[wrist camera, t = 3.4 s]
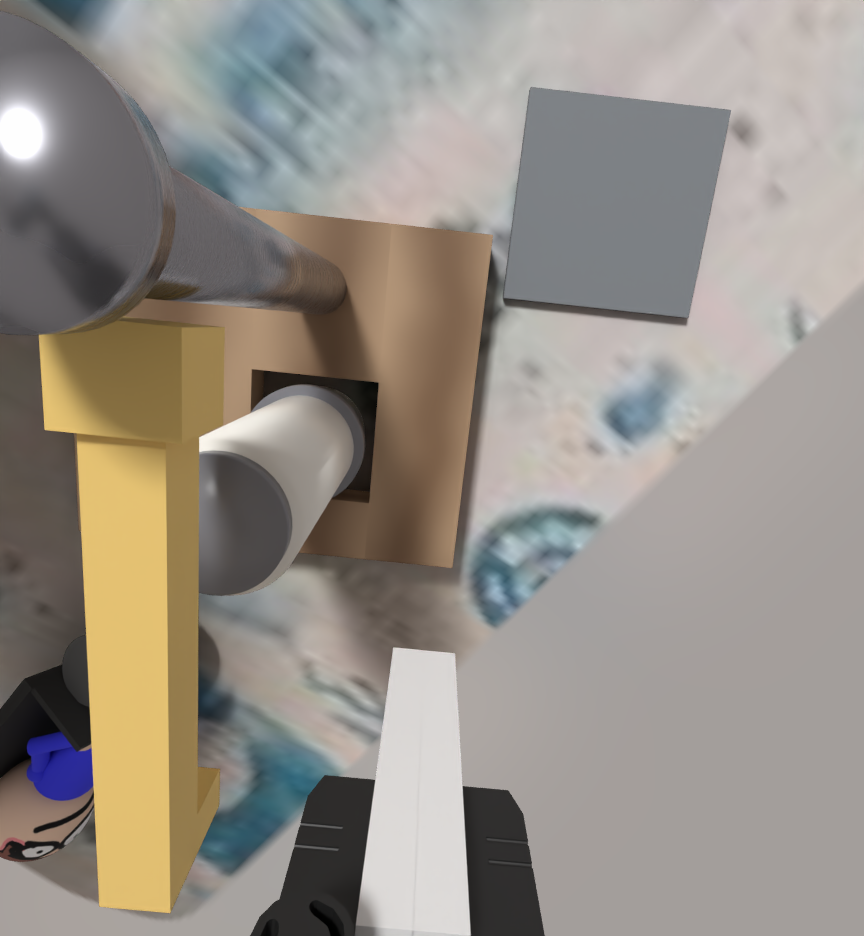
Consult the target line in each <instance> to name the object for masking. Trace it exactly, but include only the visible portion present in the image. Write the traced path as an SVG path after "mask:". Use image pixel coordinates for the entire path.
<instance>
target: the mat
mask: <svg viewBox="0 0 864 936" xmlns="http://www.w3.org/2000/svg"><path fill="white" fill-rule="evenodd" d="M730 113H731V110H726V109H718V108H709V107H700V106H691V105H683V104H674V103H665V102H657V101H648V100H639V99H630V98H622V97H613V96H604V95H596V94H587V93H578V92H570V91H561V90H552V89H543V88H535V87H531V88H530V90H529V98H528V106H527V113H526V121H525V129H524V137H523V144H522V152H521V160H520V168H519V175H518V183H517V191H516V199H515V206H514V214H513V222H512V230H511V237H510V245H509V253H508V261H507V268H506V276H505V284H504V292H503V298H507V299H516V300H525V301H534V302H544V303H553V304H562V305H571V306H580V307H590V308H599V309H608V310H617V311H627V312H636V313H645V314H654V315H663V316H673V317H682V318H688V316H689V311H690V306H691V302H692V297H693V292H694V287H695V282H696V277H697V272H698V268H699V263H700V258H701V253H702V248H703V243H704V239H705V234H706V229H707V224H708V219H709V214H710V210H711V205H712V200H713V195H714V190H715V185H716V180H717V176H718V171H719V166H720V161H721V156H722V151H723V147H724V142H725V137H726V132H727V127H728V122H729V117H730Z"/></svg>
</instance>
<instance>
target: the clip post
mask: <svg viewBox="0 0 864 936" xmlns="http://www.w3.org/2000/svg"><path fill="white" fill-rule="evenodd" d="M346 291H347V286H346V280H345V277H344V275H343V273H342V272H341V270H340V269H339V268H338V267H337V266H336V265H335V264H333V263H331V262H330V261H328V260H326V259H325V258H323V257H321V256H320V255H318V254H316V253H315V252H313V251H311V250H310V249H308V248H306V247H305V246H303V245H301V244H300V243H298V242H296V241H295V240H293V239H291V238H290V237H288V236H286V235H285V234H283V233H281V232H280V231H278V230H276V229H275V228H273V227H271V226H270V225H268V224H266V223H264V222H263V221H261V220H259V219H258V218H256V217H254V216H253V215H251V214H249V213H248V212H246V211H244V210H243V209H241V208H239V207H238V206H236V205H234V204H233V203H231V202H229V201H228V200H226V199H224V198H223V197H221V196H219V195H218V194H216V193H214V192H213V191H211V190H209V189H208V188H206V187H204V186H202V185H201V184H199V183H197V182H196V181H194V180H192V179H191V178H189V177H187V176H186V175H184V174H182V173H181V172H179V171H177V170H176V169H174V168H172V167H171V166H169V164H168V161H167V158H166V154H165V152H164V149H163V147H162V145H161V143H160V140H159V138H158V136H157V134H156V132H155V130H154V129H153V127H152V125H151V123H150V122H149V120H148V118H147V117H146V115H145V114H144V113H143V111H142V110H141V108H140V107H139V106H138V104H137V103H136V102H135V100H134V99H133V98H132V97H131V96H130V95H129V94H128V93H127V92H126V91H125V90H124V89H123V87H122V86H121V85H120V84H118V83H117V82H116V81H115V80H114V79H112V78H111V77H110V76H109V75H108V74H107V73H105V72H104V71H103V70H102V69H100V68H99V67H98V66H96V65H95V64H94V63H92V62H91V61H90V60H88V59H87V58H86V57H85V56H83V55H82V54H81V53H79V52H78V51H77V50H75V49H74V48H73V47H71V46H70V45H69V44H67V43H66V42H65V41H63V40H62V39H60V38H59V37H57V36H56V35H54V34H53V33H51V32H50V31H48V30H47V29H45V28H43V27H41V26H39V25H37V24H35V23H33V22H31V21H29V20H27V19H24V18H21V17H18V16H16V15H13V14H10V13H7V12H3V11H0V333H3V334H13V335H49V334H72V333H82V332H86V331H90V330H94V329H98V328H101V327H103V326H106V325H108V324H111V323H113V322H115V321H116V320H118V319H120V318H121V317H123V316H125V315H126V314H128V313H129V312H130V311H131V310H133V309H134V308H135V307H136V306H137V305H139V304H140V302H141V301H142V300H143V299H144V298H146V299H156V300H167V301H178V302H189V303H200V304H210V305H221V306H232V307H243V308H254V309H264V310H275V311H286V312H297V313H308V314H319V315H324V314H329V313H331V312H333V311H335V310H336V309H338V308H339V307H340V306H341V304H342V303H343V301H344V299H345V296H346Z"/></svg>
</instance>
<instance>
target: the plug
mask: <svg viewBox="0 0 864 936" xmlns="http://www.w3.org/2000/svg"><path fill="white" fill-rule="evenodd" d="M364 453H365V428H364V422H363V418H362V416H361V413H360V411H359V409H358V408H357V406H356V405H355V404H354V402H353V401H352V400H351V399H350V398H349V397H347V396H346V395H345V394H343V393H342V392H340V391H338V390H336V389H333V388H330V387H325V386H318V385H312V384H297V385H292V386H287V387H285V388H282V389H280V390H277V391H275V392H273V393H271V394H269V395H268V396H266V397H265V398H263V399H262V400H261V401H260V402H259V403H258V404H257V405H256V406H255V408H254V409H253V410H252V411H251V413H250V414H248V415H246V416H244V417H241V418H239V419H237V420H235V421H233V422H231V423H229V424H227V425H224V426H222V427H220V428H218V429H216V430H214V431H212V432H210V433H208V434H205V435H203V436H201V437H199V593H202V594H207V595H218V596H223V595H227V596H232V595H242V594H247V593H251V592H254V591H257V590H260V589H262V588H264V587H266V586H268V585H270V584H271V583H273V582H274V581H275V580H277V579H278V578H279V577H280V576H281V575H282V574H284V573H285V571H286V570H287V569H288V568H289V567H290V565H291V564H292V562H293V560H294V559H295V557H296V555H297V554H298V552H299V551H300V549H301V547H302V546H303V544H304V542H305V541H306V539H307V537H308V536H309V534H310V533H311V531H312V529H313V528H314V526H315V524H316V523H317V521H318V519H319V518H320V516H321V515H322V513H323V511H324V510H325V508H326V506H327V505H328V503H329V501H330V500H331V498H333V497H335V496H336V495H338V494H339V493H341V492H342V491H343V490H344V489H345V488H347V487H348V485H349V484H350V483H351V482H352V481H353V479H354V477H355V476H356V474H357V472H358V470H359V468H360V466H361V464H362V461H363V458H364Z"/></svg>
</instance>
